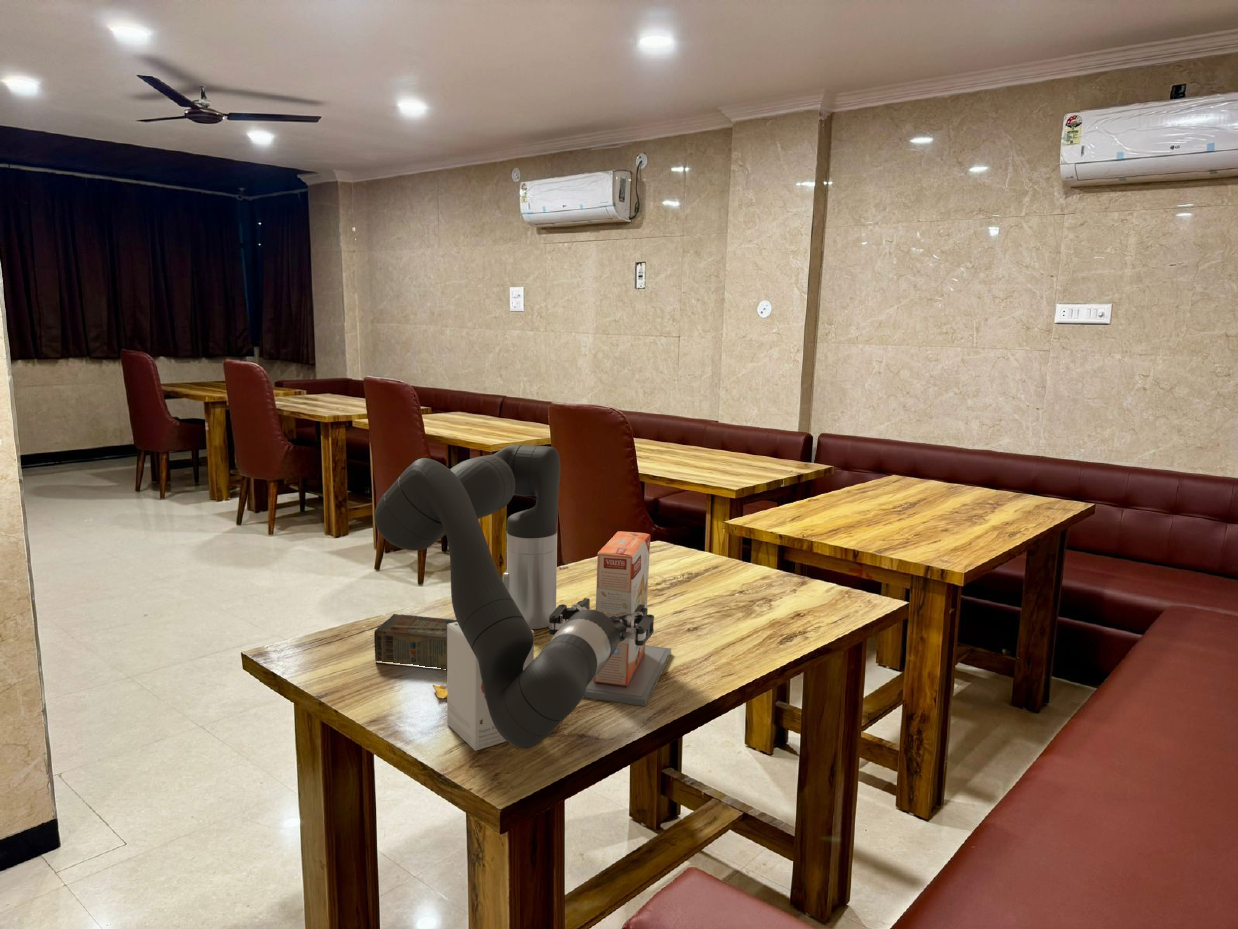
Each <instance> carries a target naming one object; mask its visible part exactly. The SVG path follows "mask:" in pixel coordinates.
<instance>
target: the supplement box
mask: <svg viewBox="0 0 1238 929" xmlns="http://www.w3.org/2000/svg"><path fill="white" fill-rule="evenodd" d="M531 631H532V633H533V637H534V638H535V631H534V629H531ZM534 647H535V642H534V643H533V646H532V648H531V651H530V653H529V654H528V656H527V658H526V660H525V663H524V666H523V670H524V669H525V668H526V667H527V666H528V665H529V664H530V663H531V662H532V661H533V660H534V659H535V657H534V655H535V654H534V653H535V650H534V649H535V648H534ZM446 676H447V678H446V682H447V683H446V684H447V698H446V699H447V700H446V701H447V703H446V705H447V707H446V708H447V711H446V712H447V714H446V717H447V719H446V721H447V725H448V726H449V727H450V728H451V729H452V730H453V731H454V732H455V733H456V734H457V735H458V736H459V737H460V738H461V740H464V742H466V744H468V746H469V747H470V748H472V750H473V751H474V752H477V751H480V750H483V749H486V748H490V747H492V746H495V745H499V744H502V743H505V742H507V741H506V740H505V739H504V738H503V737H502V736H501V735H500V733H499V732H498V731H497V729H496V727H495V726H494V724H493V721H492V719H491V716H490V713H489V710H488V706H487V702H486V697H485V692H484V687H483V683H482V679H481V674H480V668H479V663H478V660H477V658H476V656H475V654H474V653H473V651H472V649H471V647H470V645H469V643H468V642H467V640H466V638H465V636H464V634H463V632H462V630H461V628H460V627H459V624H458V622H454V623H449V624H447V670H446Z"/></svg>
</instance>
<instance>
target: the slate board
mask: <svg viewBox="0 0 1238 929" xmlns="http://www.w3.org/2000/svg"><path fill="white" fill-rule="evenodd" d="M671 654H672V648H671V647H665V646H664V647H663V646H655V645H646V644H645V653H644V655H643V657H642V659H641V661H640V663H639V665H638V667H637V669H636V671H635V673H634V675H633V676H632V679H631V681H630V682H629V685H628V686H619V685H612V684H605V683H597V682H594V678H593V679H592V680H591V681H590V683H589V684H588V685H587V687H586V692H585V695H584V697H583V699H585V698H586V699H593V700H600V701H605V702H613V703H621V704H628V705H634V706H635V705H636V706H641V707H646V706H647V704H648V701H649V700H650V698H651V696H652V694H653V691H654V690H655V688H656V686H657V683H658V681H659V679H660V677H661V676H662V673H663V671H664V669H665V667H666V665H667V663H668V661H669V659H670V656H671Z"/></svg>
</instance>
